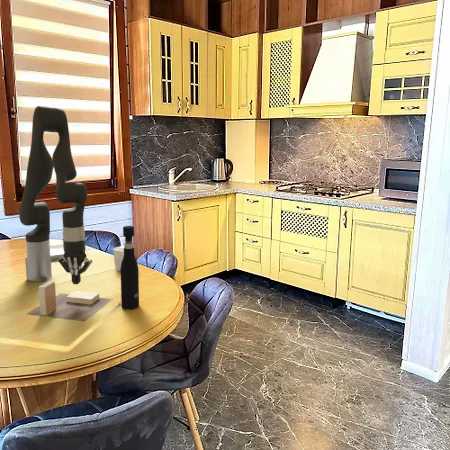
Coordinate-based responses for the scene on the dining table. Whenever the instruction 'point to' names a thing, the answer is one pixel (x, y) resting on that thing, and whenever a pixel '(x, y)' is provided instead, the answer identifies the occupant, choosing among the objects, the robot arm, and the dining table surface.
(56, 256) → the salad plate
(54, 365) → the dining table surface
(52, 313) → the board
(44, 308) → the tile terracotta
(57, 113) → the robot arm
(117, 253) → the white cup
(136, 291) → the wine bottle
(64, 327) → the dining table surface
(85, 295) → the tile teal
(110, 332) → the dining table surface
